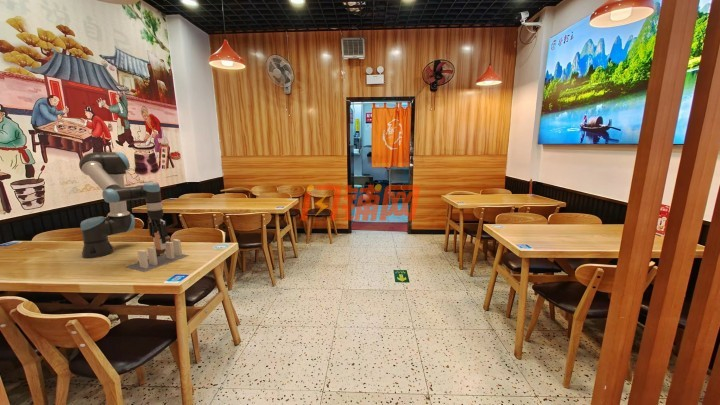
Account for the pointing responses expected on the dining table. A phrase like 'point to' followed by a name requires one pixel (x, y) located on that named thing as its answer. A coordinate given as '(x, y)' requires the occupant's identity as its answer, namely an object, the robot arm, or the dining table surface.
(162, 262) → the mat
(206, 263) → the dining table surface
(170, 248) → the domino
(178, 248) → the domino
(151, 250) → the domino
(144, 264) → the domino
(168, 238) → the brown irregular block
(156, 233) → the domino
